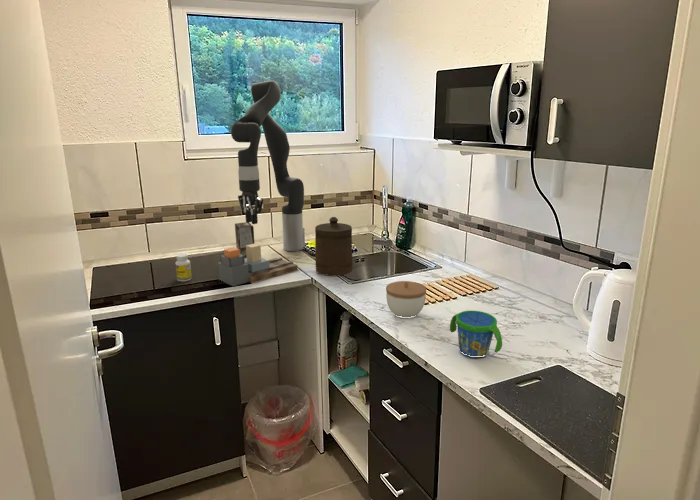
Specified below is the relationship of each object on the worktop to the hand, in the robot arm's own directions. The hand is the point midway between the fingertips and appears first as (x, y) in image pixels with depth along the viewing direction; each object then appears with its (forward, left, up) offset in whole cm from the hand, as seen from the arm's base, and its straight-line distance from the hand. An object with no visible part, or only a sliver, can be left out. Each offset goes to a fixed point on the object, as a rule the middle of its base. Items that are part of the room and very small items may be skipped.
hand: (251, 222), depth 186 cm
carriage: (0, 0, -18) cm, 18 cm away
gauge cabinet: (+10, 0, -21) cm, 23 cm away
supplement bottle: (+22, -15, -21) cm, 34 cm away
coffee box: (-8, -18, -21) cm, 29 cm away
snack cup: (-5, +95, -21) cm, 97 cm away
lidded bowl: (-12, +66, -21) cm, 70 cm away
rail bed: (-5, 0, -21) cm, 22 cm away
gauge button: (+10, 0, -12) cm, 15 cm away
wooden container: (-26, +18, -21) cm, 38 cm away
